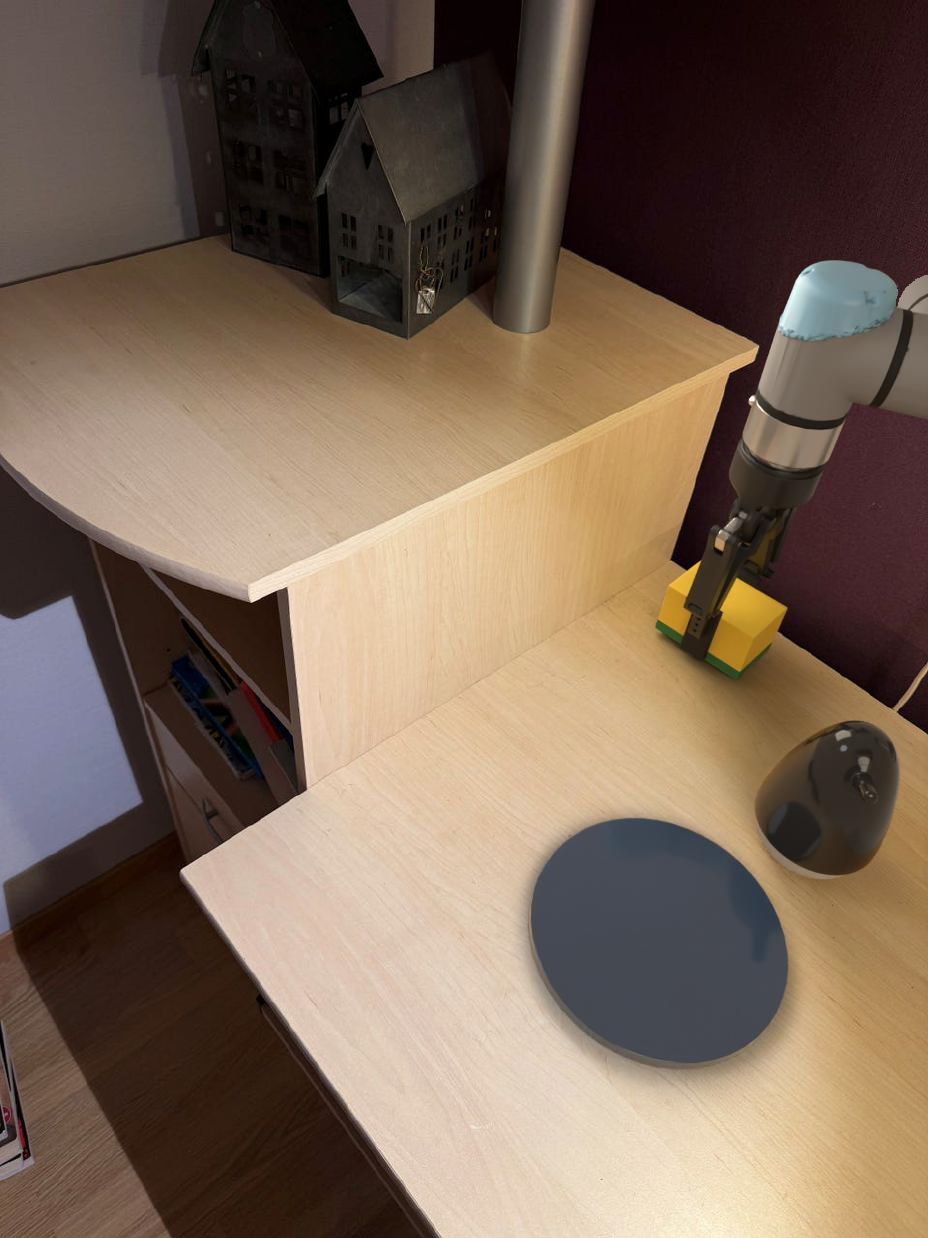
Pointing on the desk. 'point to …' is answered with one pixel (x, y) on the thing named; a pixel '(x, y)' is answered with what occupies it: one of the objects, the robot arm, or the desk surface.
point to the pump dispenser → (830, 801)
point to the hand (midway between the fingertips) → (711, 636)
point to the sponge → (726, 623)
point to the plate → (658, 943)
